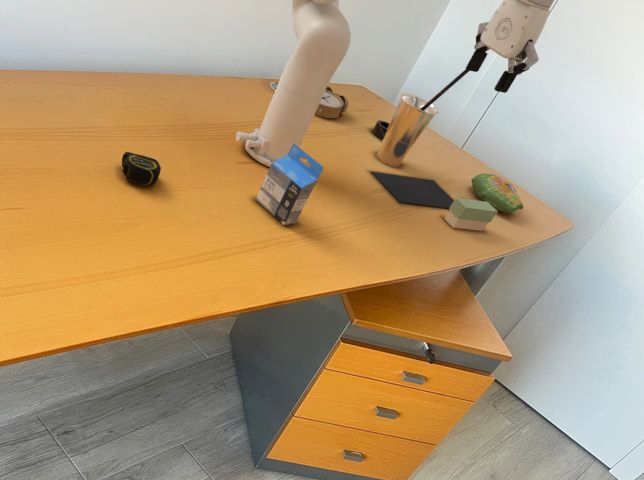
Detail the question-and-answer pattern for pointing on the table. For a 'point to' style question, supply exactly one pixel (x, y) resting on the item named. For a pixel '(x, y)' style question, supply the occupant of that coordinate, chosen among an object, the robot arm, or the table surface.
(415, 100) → the metal cup with straw
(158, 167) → the tape measure
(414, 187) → the desk mat
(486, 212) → the green and beige block
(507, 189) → the educational model
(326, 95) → the alarm clock
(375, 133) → the duct tape
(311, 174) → the ink cartridge box
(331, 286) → the table surface
